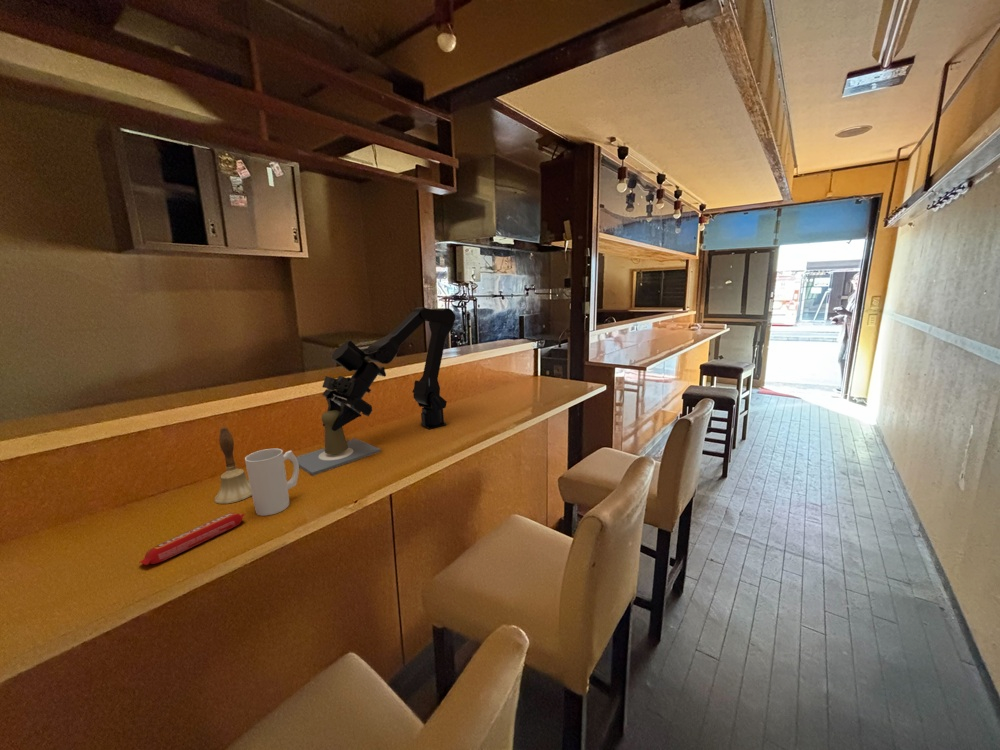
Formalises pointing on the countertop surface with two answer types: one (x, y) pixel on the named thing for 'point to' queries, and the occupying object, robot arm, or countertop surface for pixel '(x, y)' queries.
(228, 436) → the hand bell
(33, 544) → the countertop surface
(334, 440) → the olive rounded peg
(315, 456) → the board
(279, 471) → the mug
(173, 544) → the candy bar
